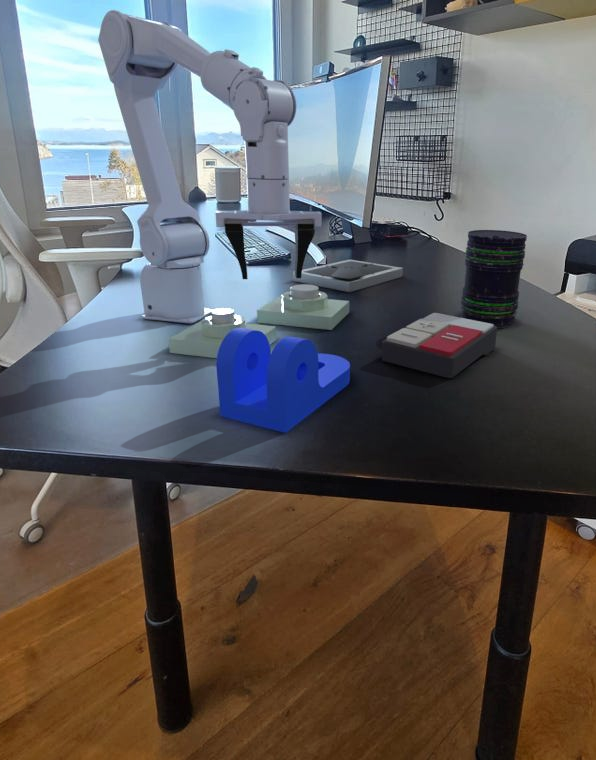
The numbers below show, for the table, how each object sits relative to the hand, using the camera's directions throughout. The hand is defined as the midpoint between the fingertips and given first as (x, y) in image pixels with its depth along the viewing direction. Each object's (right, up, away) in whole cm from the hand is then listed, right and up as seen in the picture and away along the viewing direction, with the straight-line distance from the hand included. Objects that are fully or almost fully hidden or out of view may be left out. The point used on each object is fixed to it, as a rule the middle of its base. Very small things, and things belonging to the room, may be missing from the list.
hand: (271, 277), depth 80 cm
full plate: (+3, -4, +15) cm, 16 cm away
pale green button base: (-7, -10, 0) cm, 12 cm away
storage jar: (+35, -5, +17) cm, 40 cm away
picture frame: (+10, +8, +45) cm, 47 cm away
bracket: (+6, -17, -14) cm, 23 cm away
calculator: (+25, -12, 0) cm, 27 cm away
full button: (+3, -1, +14) cm, 14 cm away
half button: (-7, -7, -1) cm, 10 cm away
